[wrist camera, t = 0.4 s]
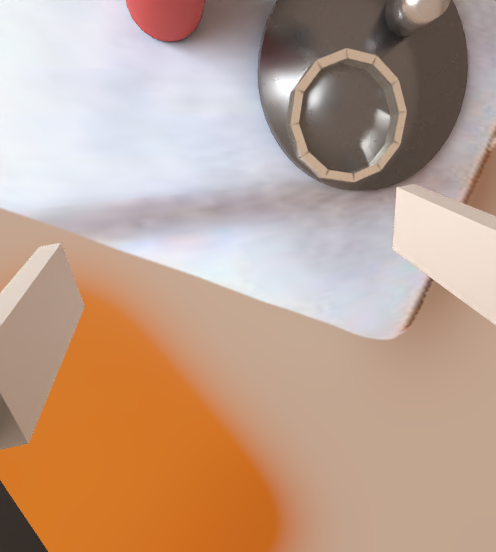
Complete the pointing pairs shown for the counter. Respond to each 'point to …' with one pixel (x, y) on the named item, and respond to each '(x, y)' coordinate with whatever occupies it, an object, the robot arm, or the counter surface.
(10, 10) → the counter surface
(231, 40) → the counter surface
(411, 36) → the carrier plate
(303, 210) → the counter surface
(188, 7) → the beer can
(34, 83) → the counter surface
